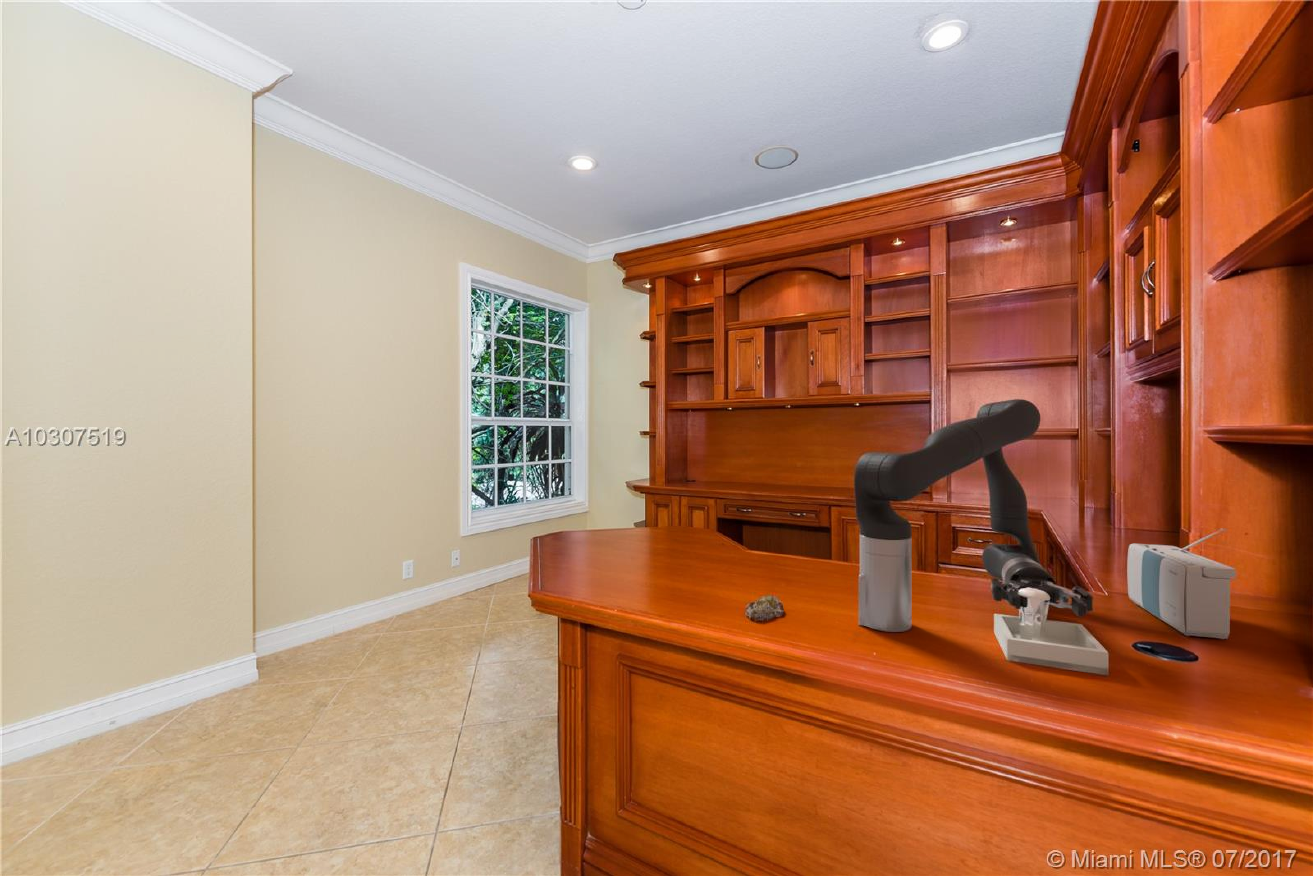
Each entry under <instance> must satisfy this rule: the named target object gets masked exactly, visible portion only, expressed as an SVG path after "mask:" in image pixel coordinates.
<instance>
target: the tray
mask: <svg viewBox="0 0 1313 876" xmlns="http://www.w3.org/2000/svg"><path fill="white" fill-rule="evenodd" d="M993 632H994V635H995V637H996V640H997V641H998V644H999V645H1000V649H1001V650H1002V652H1003V654H1004V656H1005V658H1006V660H1007V661H1009V662H1016V663H1022V664H1030V665H1036V666H1043V667H1051V668H1056V669H1062V670H1069V671H1070V670H1071V671H1077V672H1083V673H1088V674H1096V675H1103V676H1109V652H1108V650H1106V649H1105V647H1104V646H1103V645H1102V644H1101V643H1100V642H1099V641H1098V640H1097V639H1096V638H1095V637H1094V635H1093V634H1092V633H1091V632H1090V631H1089V630H1088V629H1087V628H1086V627H1085V626H1084V625H1083V624H1082V623H1077V622H1076V623H1075V622H1066V621H1059V620H1050V619H1049V620H1048V619H1046V626H1045V633H1044V640H1043V642H1041V641H1034V640H1026V639H1020V628H1019V615H1018V616H1016V615H1007V614H1002V613H1001V614H1000V613H994V614H993Z"/></svg>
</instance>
